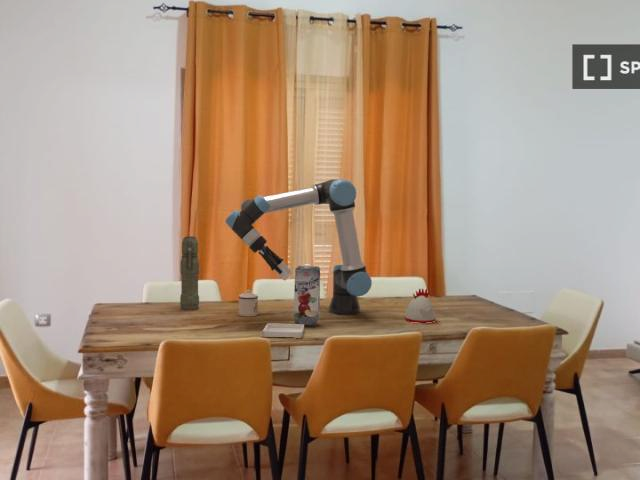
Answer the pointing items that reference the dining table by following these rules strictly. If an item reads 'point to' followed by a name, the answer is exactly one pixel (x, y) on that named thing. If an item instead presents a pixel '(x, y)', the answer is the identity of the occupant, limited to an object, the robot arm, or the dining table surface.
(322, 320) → the dining table surface
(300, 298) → the juice carton
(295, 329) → the carton tray
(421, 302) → the grey dome with crest
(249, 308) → the teacup with lid
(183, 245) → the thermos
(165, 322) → the dining table surface
